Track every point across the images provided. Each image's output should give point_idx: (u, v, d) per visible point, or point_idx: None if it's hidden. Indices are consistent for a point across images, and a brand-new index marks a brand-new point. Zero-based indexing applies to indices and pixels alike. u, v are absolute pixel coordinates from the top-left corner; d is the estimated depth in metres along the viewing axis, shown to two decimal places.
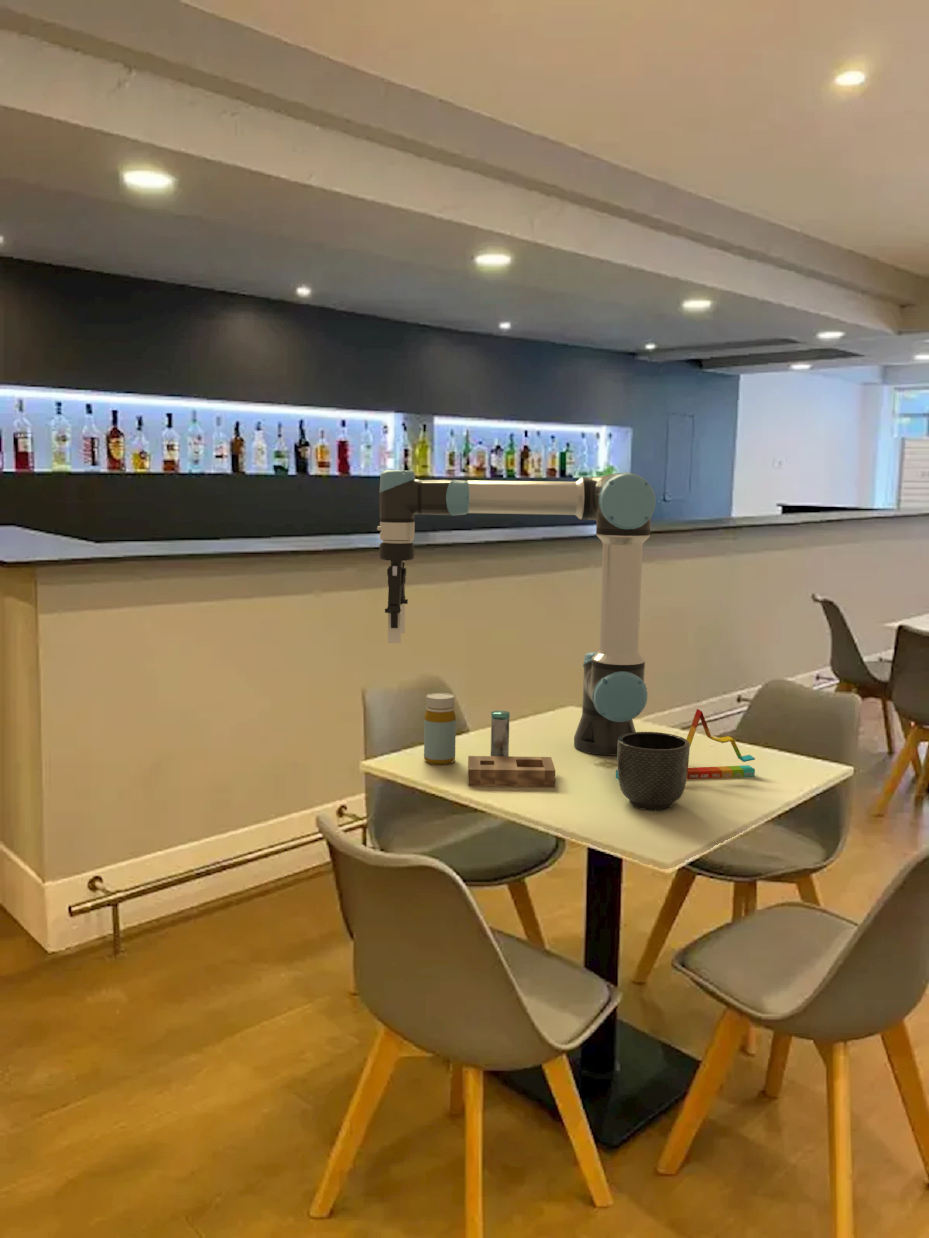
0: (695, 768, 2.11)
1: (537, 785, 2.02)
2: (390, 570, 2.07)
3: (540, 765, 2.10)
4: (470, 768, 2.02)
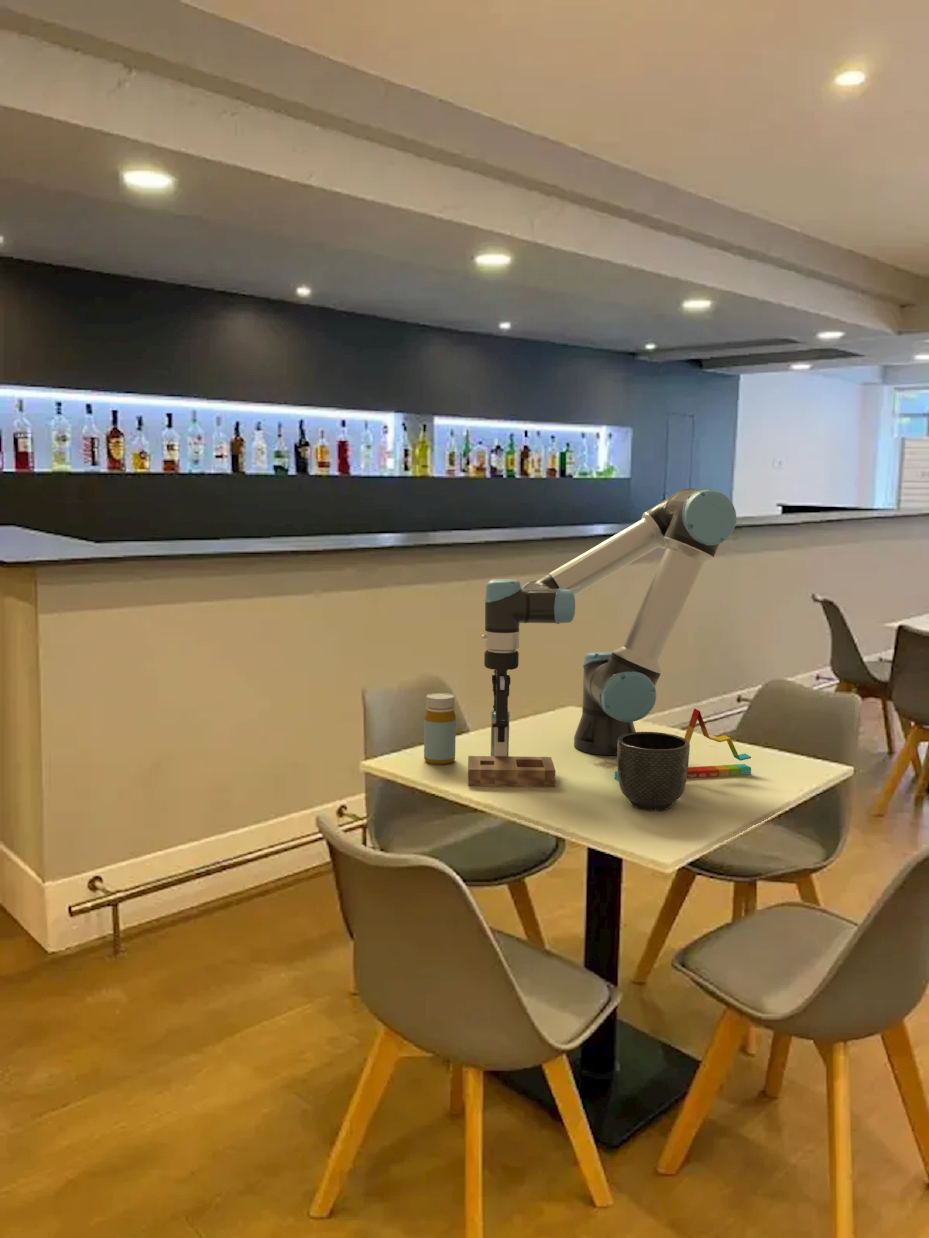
0: (692, 768, 2.12)
1: (537, 785, 2.02)
2: (498, 685, 2.08)
3: (540, 765, 2.10)
4: (470, 768, 2.02)
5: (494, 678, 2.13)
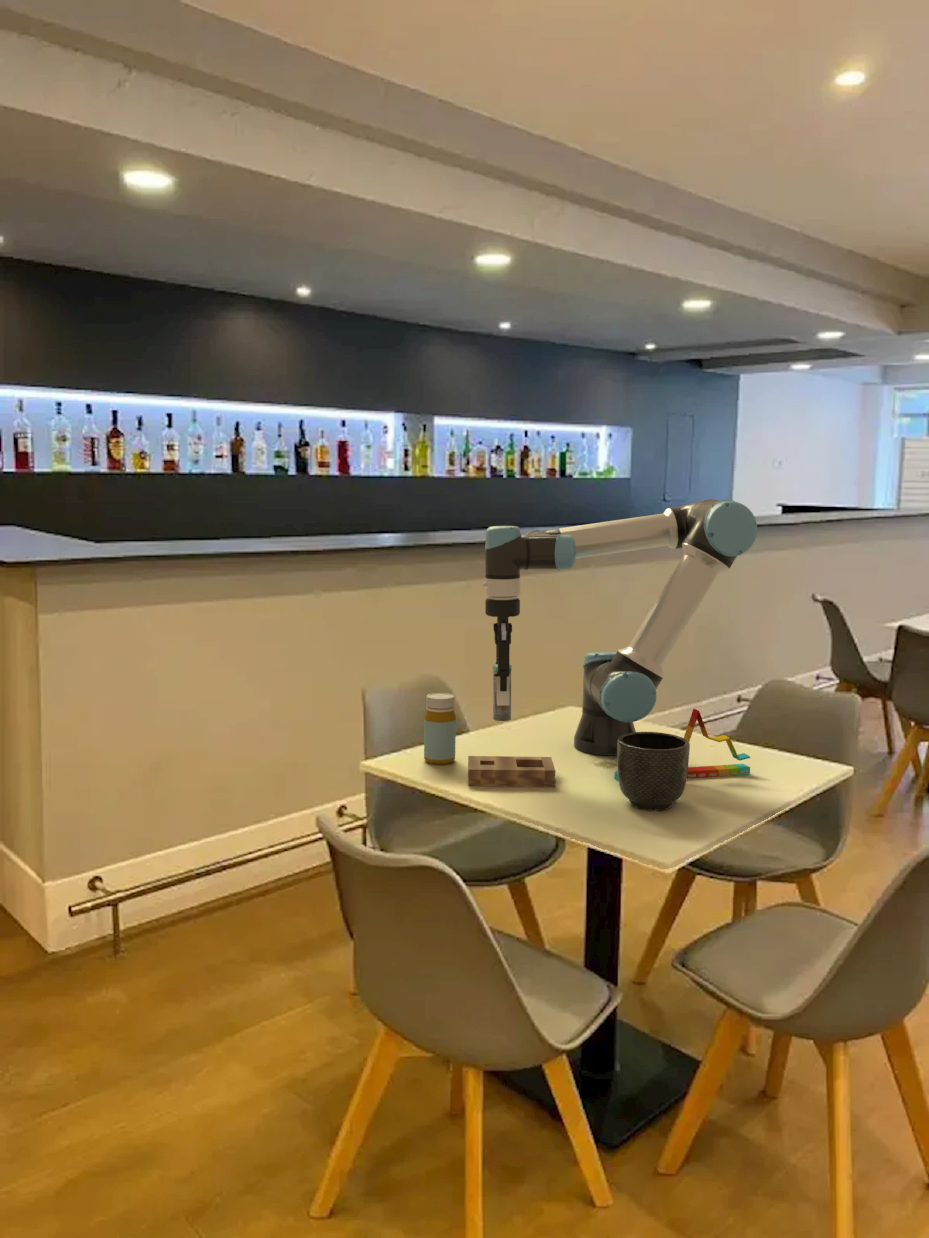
0: (692, 768, 2.12)
1: (537, 785, 2.02)
2: (499, 636, 2.06)
3: (540, 765, 2.10)
4: (470, 768, 2.02)
5: (496, 626, 2.11)
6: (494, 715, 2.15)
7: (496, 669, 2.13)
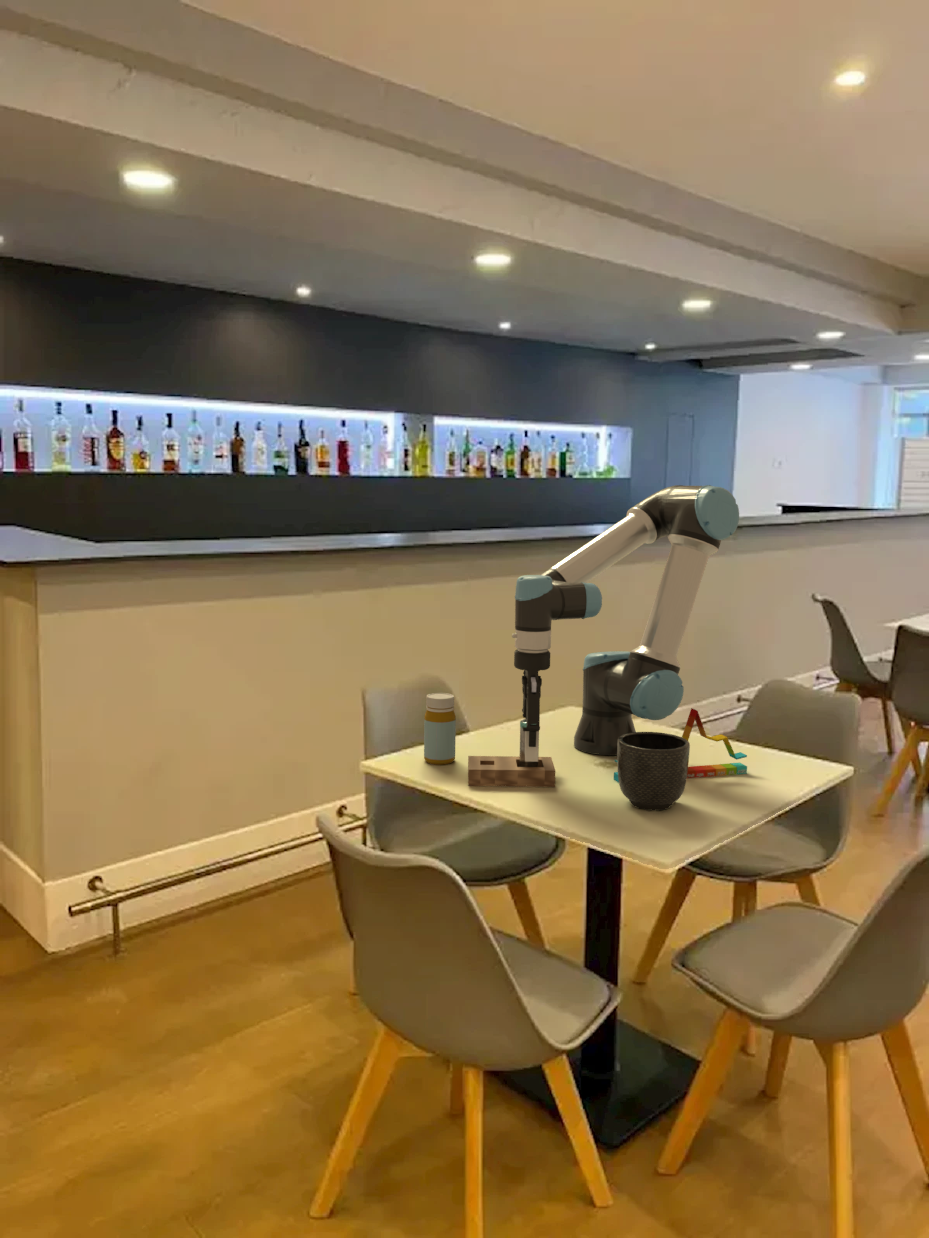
0: (690, 767, 2.12)
1: (537, 785, 2.02)
2: (529, 687, 1.98)
3: (540, 765, 2.10)
4: (470, 768, 2.02)
5: (525, 679, 2.02)
6: None
7: (524, 726, 2.04)
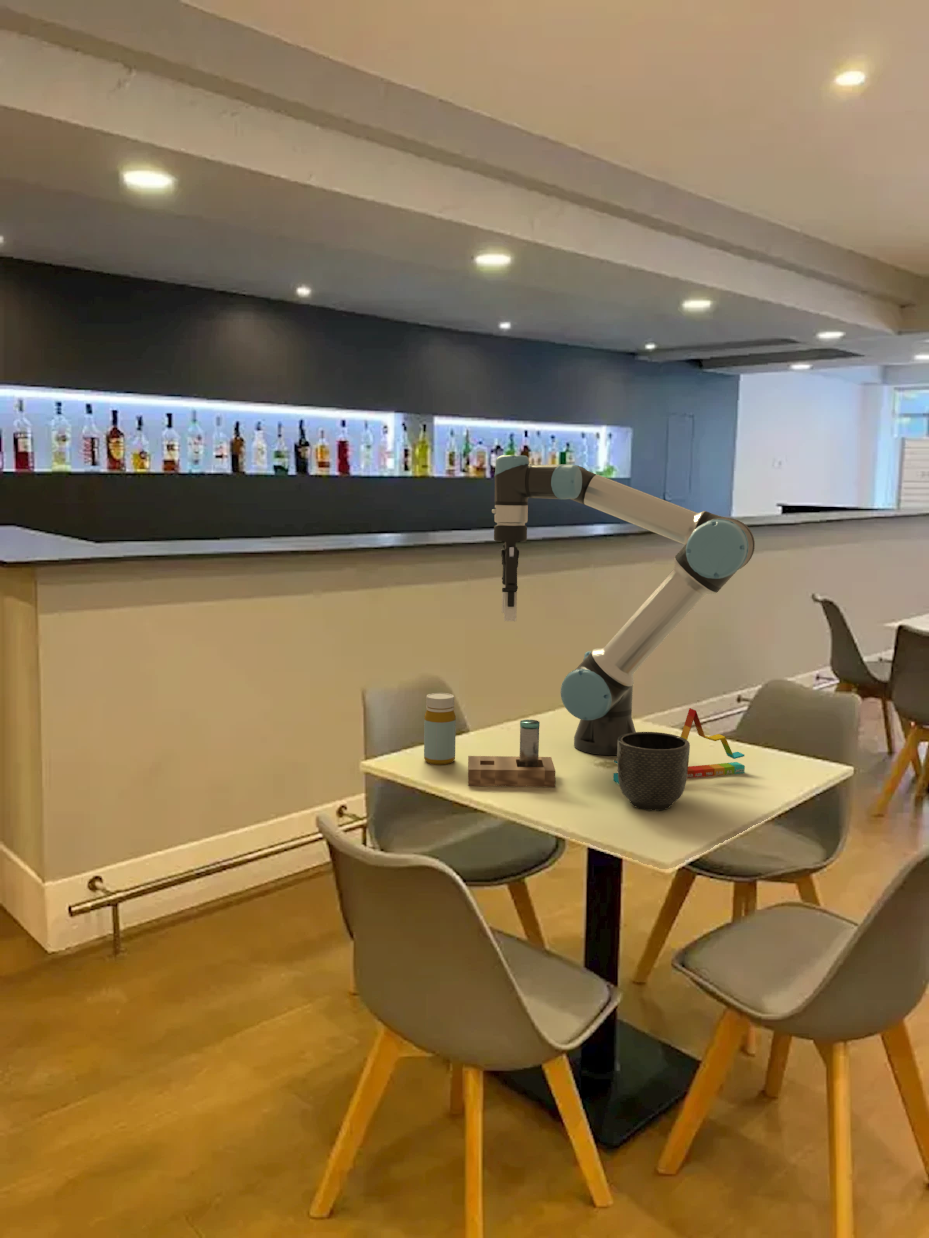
0: (688, 767, 2.12)
1: (537, 785, 2.02)
2: (507, 551, 2.15)
3: (540, 765, 2.10)
4: (470, 768, 2.02)
5: (503, 551, 2.21)
6: None
7: (524, 726, 2.04)
